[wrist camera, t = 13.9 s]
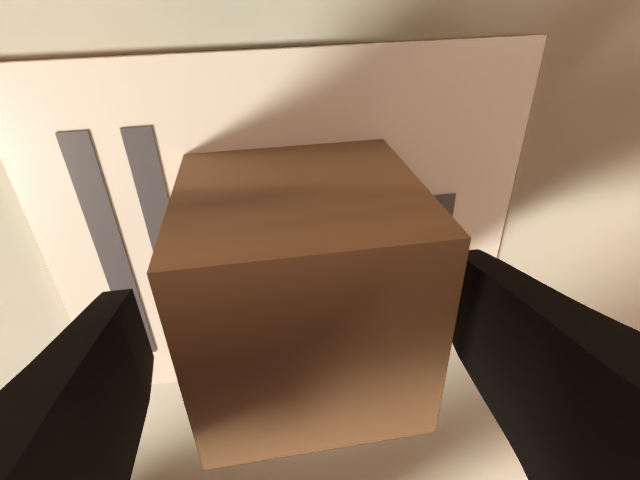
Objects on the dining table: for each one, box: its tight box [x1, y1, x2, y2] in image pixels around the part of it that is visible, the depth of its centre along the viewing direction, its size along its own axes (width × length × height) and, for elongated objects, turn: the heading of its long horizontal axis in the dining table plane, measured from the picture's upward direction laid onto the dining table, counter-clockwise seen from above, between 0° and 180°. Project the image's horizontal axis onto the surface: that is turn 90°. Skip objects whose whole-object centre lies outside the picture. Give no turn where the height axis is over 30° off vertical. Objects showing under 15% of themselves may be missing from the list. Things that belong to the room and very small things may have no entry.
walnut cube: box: [147, 139, 471, 470], centre depth 10 cm, size 5×5×5 cm
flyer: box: [0, 35, 547, 385], centre depth 12 cm, size 10×13×1 cm
